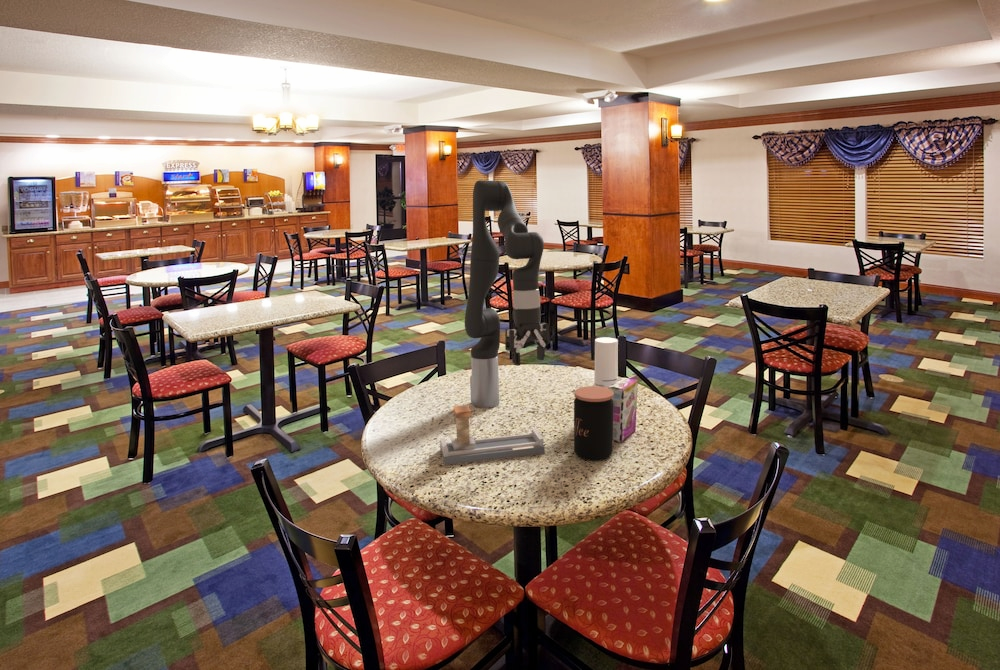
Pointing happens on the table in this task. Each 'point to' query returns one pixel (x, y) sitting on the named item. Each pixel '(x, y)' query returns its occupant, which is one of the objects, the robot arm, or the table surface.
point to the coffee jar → (593, 422)
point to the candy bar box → (624, 408)
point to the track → (495, 448)
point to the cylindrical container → (605, 361)
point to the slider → (462, 429)
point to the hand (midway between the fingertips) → (528, 362)
